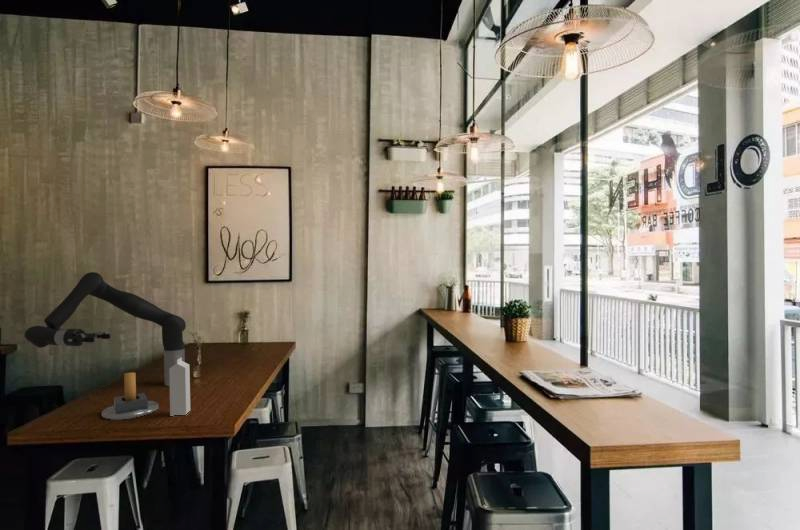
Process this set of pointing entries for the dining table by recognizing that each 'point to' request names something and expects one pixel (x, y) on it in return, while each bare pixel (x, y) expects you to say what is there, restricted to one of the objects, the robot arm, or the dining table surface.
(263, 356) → the dining table surface
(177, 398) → the milk
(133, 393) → the pin
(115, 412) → the square frame on disc
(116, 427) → the dining table surface
